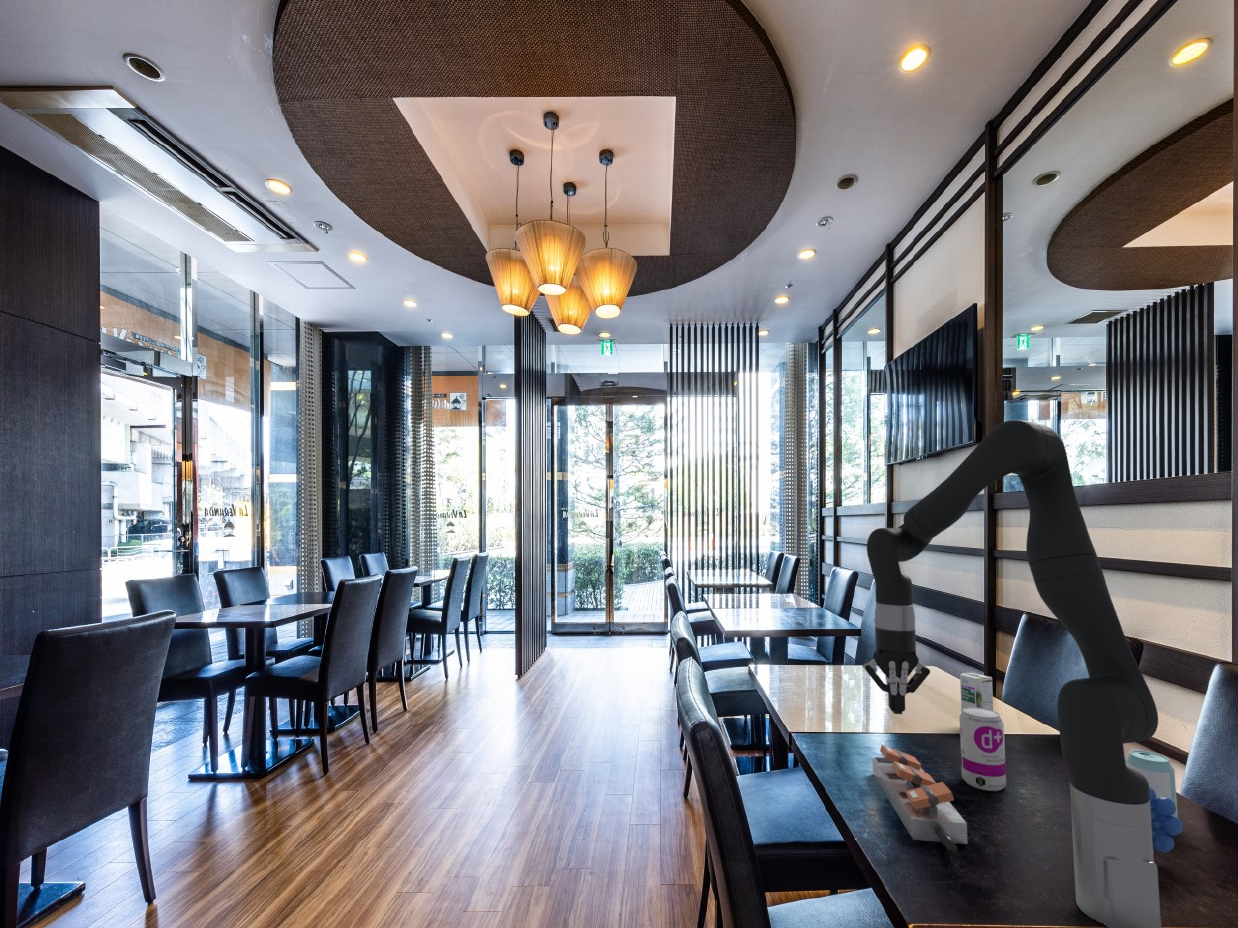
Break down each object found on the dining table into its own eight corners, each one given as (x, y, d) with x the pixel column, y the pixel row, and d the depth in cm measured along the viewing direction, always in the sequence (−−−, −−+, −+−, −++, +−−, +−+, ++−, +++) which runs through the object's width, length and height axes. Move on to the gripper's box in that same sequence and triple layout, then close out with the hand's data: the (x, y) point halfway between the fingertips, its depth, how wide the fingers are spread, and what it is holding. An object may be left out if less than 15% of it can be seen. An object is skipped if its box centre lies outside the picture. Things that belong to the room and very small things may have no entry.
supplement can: (1013, 793, 127) (1009, 719, 128) (969, 790, 129) (966, 716, 130) (997, 777, 135) (994, 707, 136) (956, 774, 137) (954, 705, 138)
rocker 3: (954, 801, 111) (951, 790, 111) (916, 810, 112) (912, 800, 112) (945, 790, 115) (942, 780, 115) (908, 799, 116) (905, 789, 116)
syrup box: (960, 728, 167) (958, 673, 168) (975, 725, 169) (972, 671, 170) (980, 735, 162) (978, 678, 163) (995, 731, 164) (992, 676, 165)
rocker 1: (919, 772, 128) (921, 764, 128) (885, 759, 130) (887, 751, 130) (912, 763, 133) (914, 755, 133) (879, 751, 134) (882, 743, 134)
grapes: (1176, 854, 104) (1172, 781, 105) (1191, 875, 98) (1185, 797, 99) (1092, 837, 110) (1088, 768, 111) (1100, 856, 104) (1096, 782, 105)
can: (1120, 815, 118) (1116, 750, 119) (1143, 809, 121) (1139, 746, 122) (1163, 832, 112) (1159, 764, 113) (1187, 826, 114) (1182, 759, 115)
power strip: (982, 862, 101) (981, 834, 102) (924, 857, 103) (923, 829, 103) (915, 776, 135) (914, 755, 135) (872, 773, 136) (872, 752, 137)
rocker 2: (934, 791, 120) (936, 782, 120) (897, 777, 121) (900, 768, 121) (926, 781, 124) (929, 773, 124) (891, 768, 125) (894, 759, 125)
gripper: (865, 627, 122) (867, 717, 121) (935, 630, 120) (938, 721, 119) (856, 621, 130) (858, 705, 128) (923, 623, 128) (925, 709, 126)
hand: (897, 712), depth 124 cm, fingers closed
